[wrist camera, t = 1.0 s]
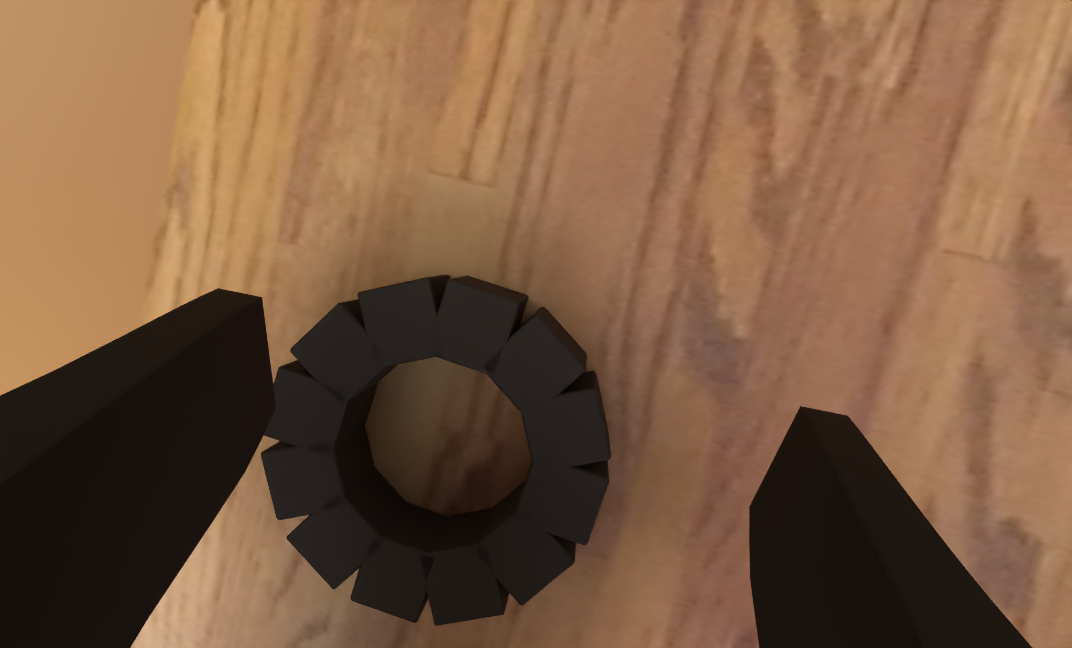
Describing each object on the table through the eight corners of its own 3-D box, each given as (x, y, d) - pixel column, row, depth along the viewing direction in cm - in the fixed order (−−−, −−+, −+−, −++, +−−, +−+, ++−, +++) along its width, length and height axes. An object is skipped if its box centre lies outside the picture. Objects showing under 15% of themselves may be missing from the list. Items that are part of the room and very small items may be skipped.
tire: (443, 635, 21) (423, 689, 18) (243, 415, 21) (193, 438, 18) (669, 446, 20) (682, 475, 17) (460, 212, 20) (440, 205, 17)
